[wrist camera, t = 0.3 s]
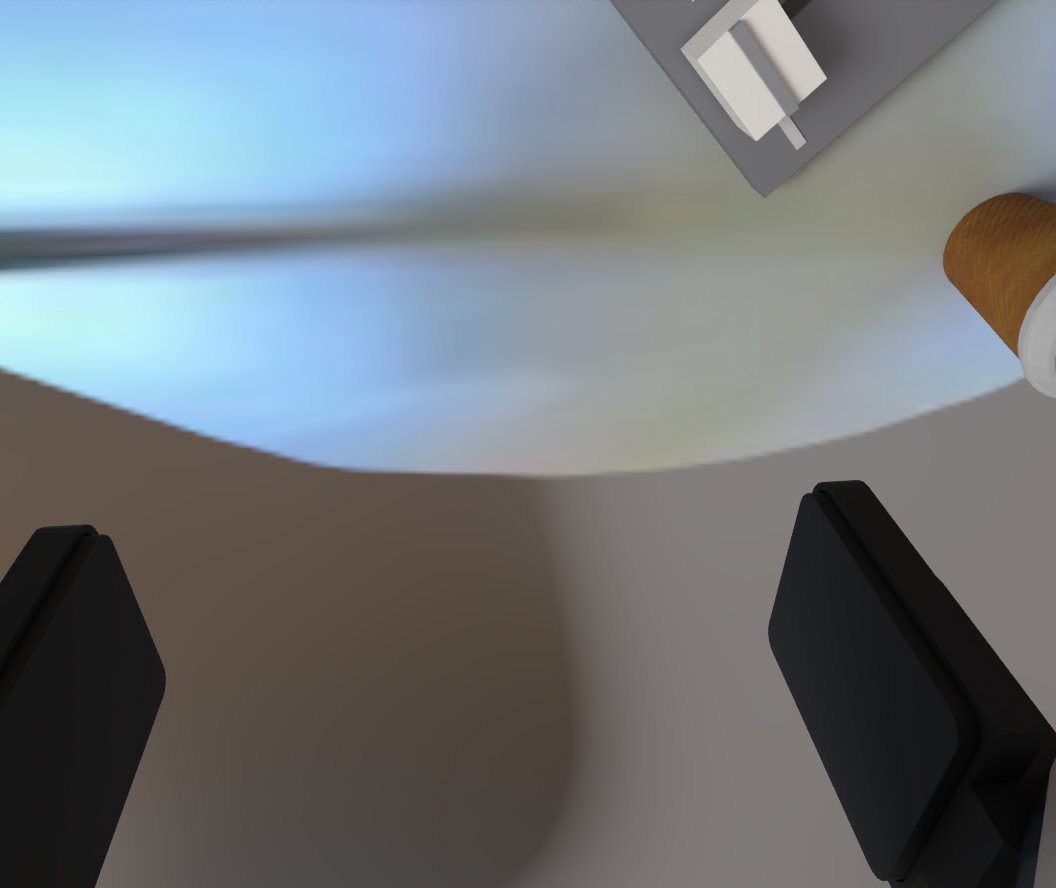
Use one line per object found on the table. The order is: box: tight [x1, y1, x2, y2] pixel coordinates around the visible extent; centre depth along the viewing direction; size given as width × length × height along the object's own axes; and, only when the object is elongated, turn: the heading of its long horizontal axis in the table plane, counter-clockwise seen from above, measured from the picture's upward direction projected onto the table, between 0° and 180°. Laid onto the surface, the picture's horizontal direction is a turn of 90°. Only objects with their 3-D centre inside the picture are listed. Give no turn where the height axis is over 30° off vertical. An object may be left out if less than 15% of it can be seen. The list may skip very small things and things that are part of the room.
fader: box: [680, 0, 827, 141], centre depth 36 cm, size 5×4×3 cm
